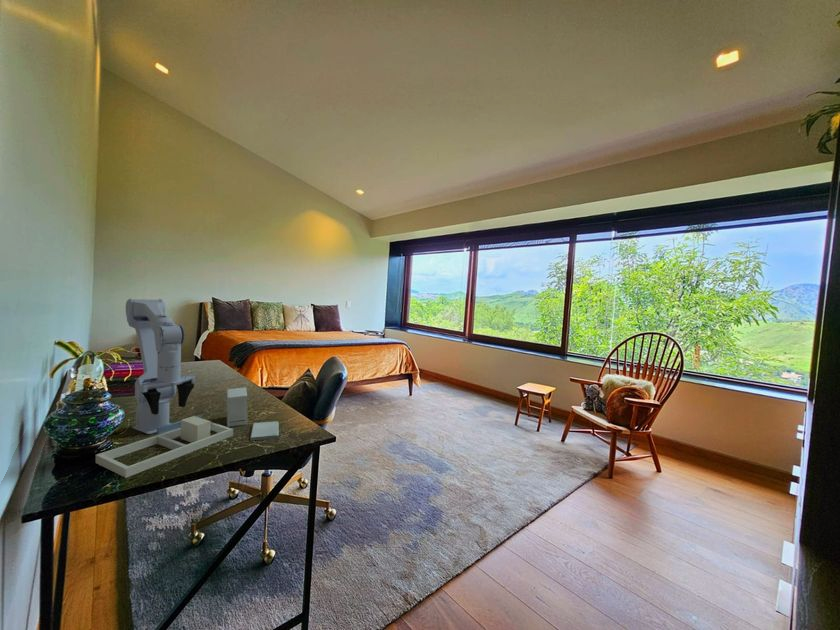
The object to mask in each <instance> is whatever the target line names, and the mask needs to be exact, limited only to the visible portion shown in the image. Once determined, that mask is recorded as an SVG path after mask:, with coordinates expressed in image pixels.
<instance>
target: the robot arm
mask: <svg viewBox="0 0 840 630" xmlns="http://www.w3.org/2000/svg"><path fill="white" fill-rule="evenodd" d="M125 316H126V322H127V323H128V326H129V327H131V328H133V329H134V330H135V332H136V336H137V341H138V345H139V352H140V357H141V358H140V359H141V363H142V368H143V369H142V370H143V374H141V375H139V377H137V378H136V380H135V382H134V396H135V400H136V402H137V405H136V407H135V425H134V426H131V427H132V428H131V429H133V430H136V431H139V432H142V433H144V434H146V435H152V434H155V433H157V428H159V427H162V426H165V425H169V424H172V423H171V422H170V402H171V401H172V399H173V398H174V397H175V396H176V395H177V394H178V397H177V398H178V400H177V401H178V407H181V408H185V407H186V405H187V401H188V398H189V396H190V394H191V393H192V390H193V389H194V387H195V383H196V375H192V374H191V375H183V376H181V375H182V345H183V344H184V342H185V336H186V335H185V334H186V333H185V329H184V327H183V325H182V324H177V325H176V324H175V323H174V321H173V319H171V317H170V316H169V315H167V313H166V304H165V301H164V300H163V299H162V298H159V299H146V298H145V299H144V298H143V299H140V298H139V299H137V298H136V299H135V298H134V299H132V298H128V299H127V300H126V303H125ZM176 393H177V394H176Z"/></svg>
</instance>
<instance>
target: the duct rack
mask: <svg viewBox="0 0 840 630" xmlns="http://www.w3.org/2000/svg"><path fill="white" fill-rule="evenodd" d="M194 416H195V417H199V418H202V419H203V416H202V415H201V414H199V415H194ZM210 432H215V433H214V434H212V435H210V436H209V437H206V438H204V439H201V440H198V441H195V442H193V443H191V442H189V443H188V444H186V443H182V442H180V441H177V440H174V439H176V438H177V437H181V420H179V421H176V422H173V423H172V424H169V425H165V426H162V427H159V428H157V432H156V435H153V436H150V437H147V438H144V439H141V440H137V441H134V442H131V443H128V444H126V445H123V446H119V447H116V448H113V449H110V450H107V451H104V452H100V453H97V454H95V464H98V466H101V467H103V468H105V469H107V470H109V471H112V472H113V473H116V474H117V475H119V476H121V477H123V478H129V477H131V476H134V475H137V474H139V473H142V472H143V471H146V470H150V469H151V468H152V469H153V468H154V467H157V466H160V465H162V464H165V463H168V462H170V461H172V460H174V459H177V458H180V457H182V456H185V455H188V454H190V453H192V452H195V451H197V450H200V449H203V448H205V447H208V446H210V445H212V444H215V443H218V442H221V441H223V440H225V439H226V440H227V438H231V437H233V436H234V428H231V427H227V426H225V425H222V424H219V423H215V422H212V421H211V424H210ZM154 445H159V446H162V447H165V448H167V449H170V450H169V451H166V452H162V453H161V454H157V455H155V456H152V457H149V458H147V459H145V460H142V461H139V462H136V463H134V464H130V465H126V464H124V463H123V462H120V461H118V460H116V458H119V457H122V456H125V455H128V454H131V453H134V452H136V451H137V452H138V451H140V450H142V449H145V448H149V447H152V446H154Z"/></svg>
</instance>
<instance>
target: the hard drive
mask: <svg viewBox="0 0 840 630" xmlns="http://www.w3.org/2000/svg"><path fill="white" fill-rule="evenodd" d="M279 426H280V425H279V421H263V422H253V423H252V428H251V433H250V437H249V438H250V439H249V440H250V442H253V441H255V440H256V441H263V440H265V441H266V440H274V439H275V440H276V439H279Z"/></svg>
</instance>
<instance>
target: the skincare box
mask: <svg viewBox="0 0 840 630" xmlns="http://www.w3.org/2000/svg"><path fill="white" fill-rule="evenodd" d="M226 391H227V392H226V424H227V425H226V427H228V428H231V427H237V426H245V425H248V392H247V387H246V386H245V387H237V388H228V389H227V390H226Z"/></svg>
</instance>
